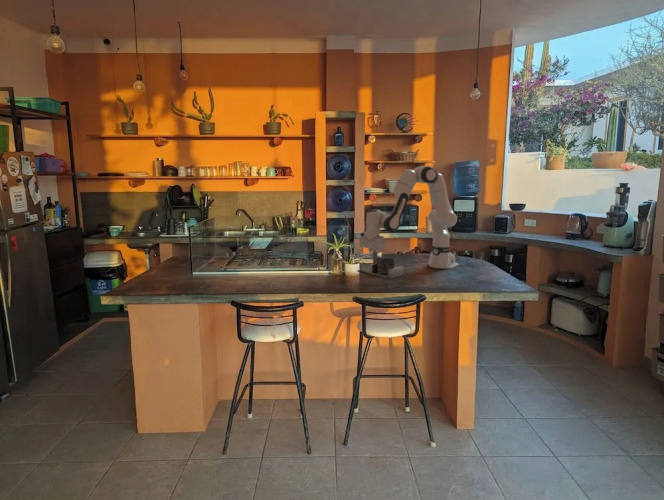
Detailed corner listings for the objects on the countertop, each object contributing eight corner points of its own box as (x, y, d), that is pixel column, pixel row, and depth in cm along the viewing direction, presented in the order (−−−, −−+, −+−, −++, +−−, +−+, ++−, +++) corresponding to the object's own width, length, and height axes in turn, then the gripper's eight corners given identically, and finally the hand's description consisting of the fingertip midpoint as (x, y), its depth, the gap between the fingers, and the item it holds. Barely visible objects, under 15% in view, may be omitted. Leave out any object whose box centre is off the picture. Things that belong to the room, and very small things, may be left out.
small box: (393, 273, 286) (393, 257, 284) (393, 275, 279) (394, 259, 277) (376, 272, 287) (377, 256, 285) (376, 274, 280) (377, 258, 278)
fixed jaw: (374, 267, 300) (374, 259, 299) (404, 274, 282) (405, 266, 281) (357, 271, 289) (357, 262, 288) (388, 279, 271) (388, 270, 270)
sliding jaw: (379, 269, 294) (380, 251, 292) (384, 270, 291) (385, 251, 289) (367, 272, 286) (367, 253, 283) (372, 273, 283) (372, 254, 281)
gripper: (388, 236, 281) (387, 257, 284) (364, 232, 296) (364, 252, 299) (381, 237, 277) (381, 258, 280) (358, 233, 292) (357, 253, 295)
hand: (372, 255), depth 289 cm, fingers closed
